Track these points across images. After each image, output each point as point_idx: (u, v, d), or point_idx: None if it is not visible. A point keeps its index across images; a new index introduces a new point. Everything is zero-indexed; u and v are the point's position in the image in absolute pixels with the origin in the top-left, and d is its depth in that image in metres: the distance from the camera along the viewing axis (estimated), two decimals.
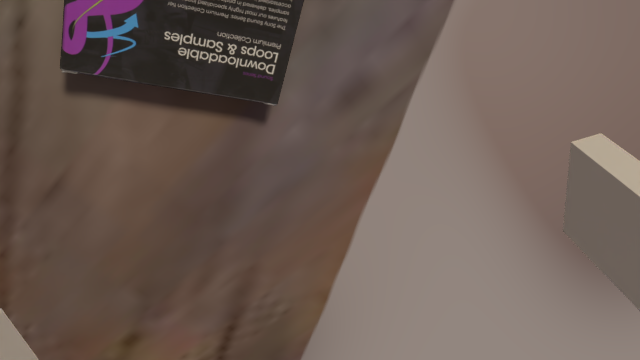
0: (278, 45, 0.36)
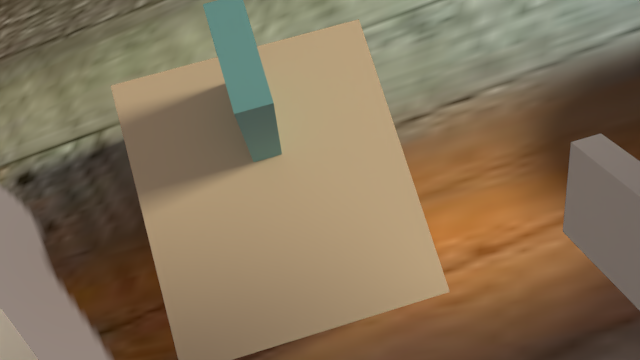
0: None
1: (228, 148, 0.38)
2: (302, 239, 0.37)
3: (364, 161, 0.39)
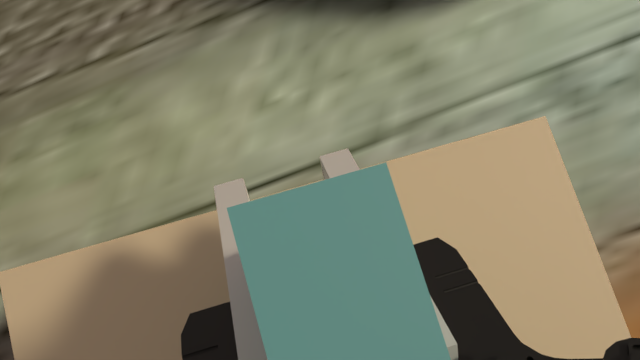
0: None
1: None
2: None
3: None
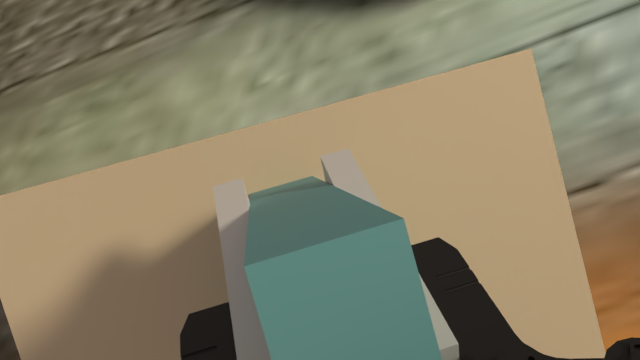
0: None
1: None
2: None
3: None
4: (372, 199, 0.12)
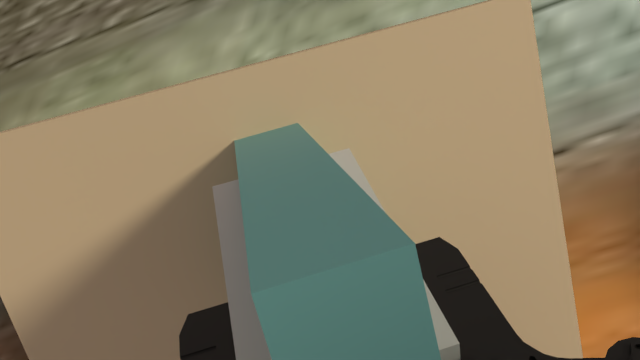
0: None
1: None
2: None
3: (500, 302, 0.20)
4: (373, 199, 0.12)
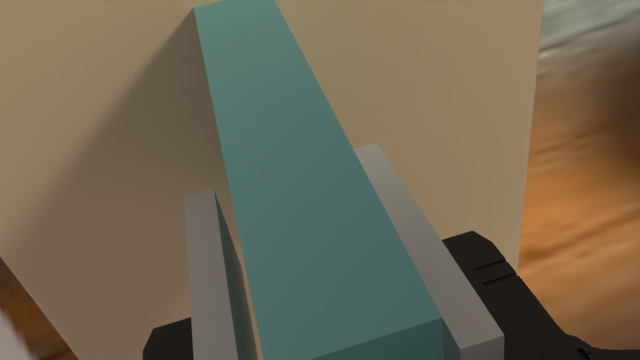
0: None
1: (194, 161, 0.17)
2: None
3: (458, 172, 0.20)
4: (405, 193, 0.12)
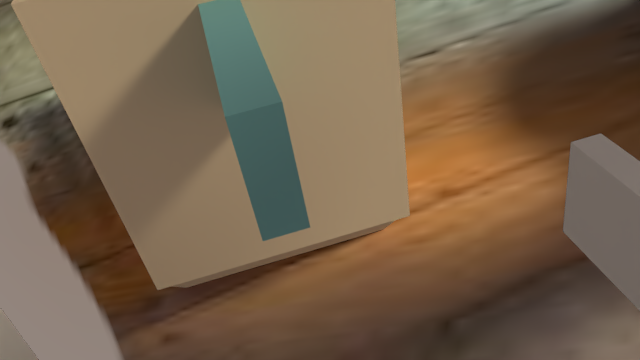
0: None
1: (197, 92, 0.30)
2: None
3: (357, 106, 0.33)
4: None
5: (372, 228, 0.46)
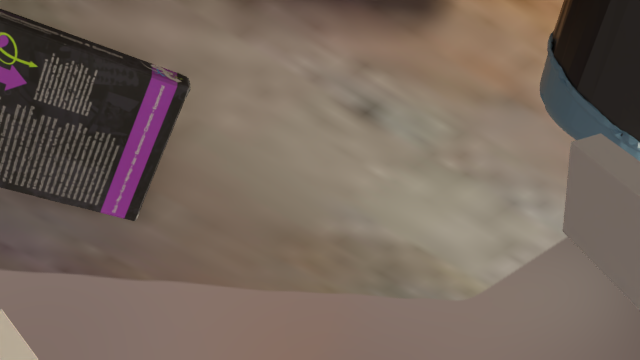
0: None
1: None
2: None
3: None
4: None
5: None
